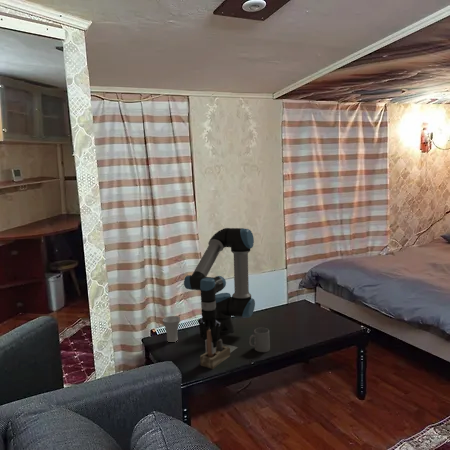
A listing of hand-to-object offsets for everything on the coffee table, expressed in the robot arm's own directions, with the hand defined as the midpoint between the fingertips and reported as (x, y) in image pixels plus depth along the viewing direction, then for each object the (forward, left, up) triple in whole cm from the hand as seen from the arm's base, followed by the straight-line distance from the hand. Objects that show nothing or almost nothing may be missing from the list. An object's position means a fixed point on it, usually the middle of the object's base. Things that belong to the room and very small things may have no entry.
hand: (210, 352), depth 214 cm
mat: (-3, +18, -7) cm, 19 cm away
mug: (+14, +27, -7) cm, 31 cm away
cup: (-37, +12, -7) cm, 40 cm away
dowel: (0, 0, -4) cm, 4 cm away
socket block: (0, +4, -7) cm, 8 cm away
